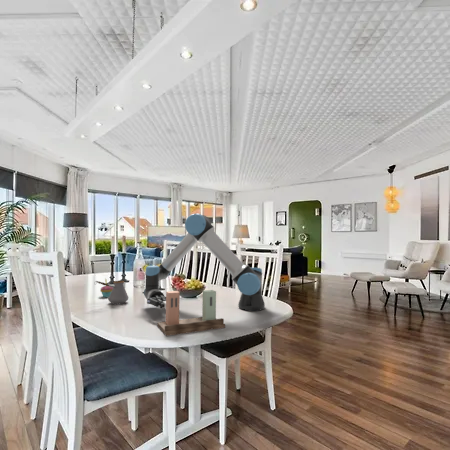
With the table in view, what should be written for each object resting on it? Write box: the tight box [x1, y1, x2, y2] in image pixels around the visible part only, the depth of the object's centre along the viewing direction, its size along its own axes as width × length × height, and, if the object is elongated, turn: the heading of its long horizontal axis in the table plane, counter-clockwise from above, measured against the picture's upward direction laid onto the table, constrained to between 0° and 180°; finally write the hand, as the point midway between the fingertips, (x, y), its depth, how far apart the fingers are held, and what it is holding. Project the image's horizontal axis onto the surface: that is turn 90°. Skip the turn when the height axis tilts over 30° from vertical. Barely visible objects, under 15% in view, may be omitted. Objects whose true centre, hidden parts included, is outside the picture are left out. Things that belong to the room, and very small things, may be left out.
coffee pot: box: [94, 280, 129, 305], centre depth 177 cm, size 21×12×15 cm, turn 145°
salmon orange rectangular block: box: [165, 290, 181, 325], centre depth 135 cm, size 5×4×14 cm
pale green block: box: [201, 289, 217, 321], centre depth 138 cm, size 5×4×14 cm
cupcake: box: [100, 278, 113, 298], centre depth 199 cm, size 9×8×12 cm
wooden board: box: [156, 317, 226, 337], centre depth 136 cm, size 27×15×4 cm, turn 116°
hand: (168, 306), depth 140 cm, fingers closed
